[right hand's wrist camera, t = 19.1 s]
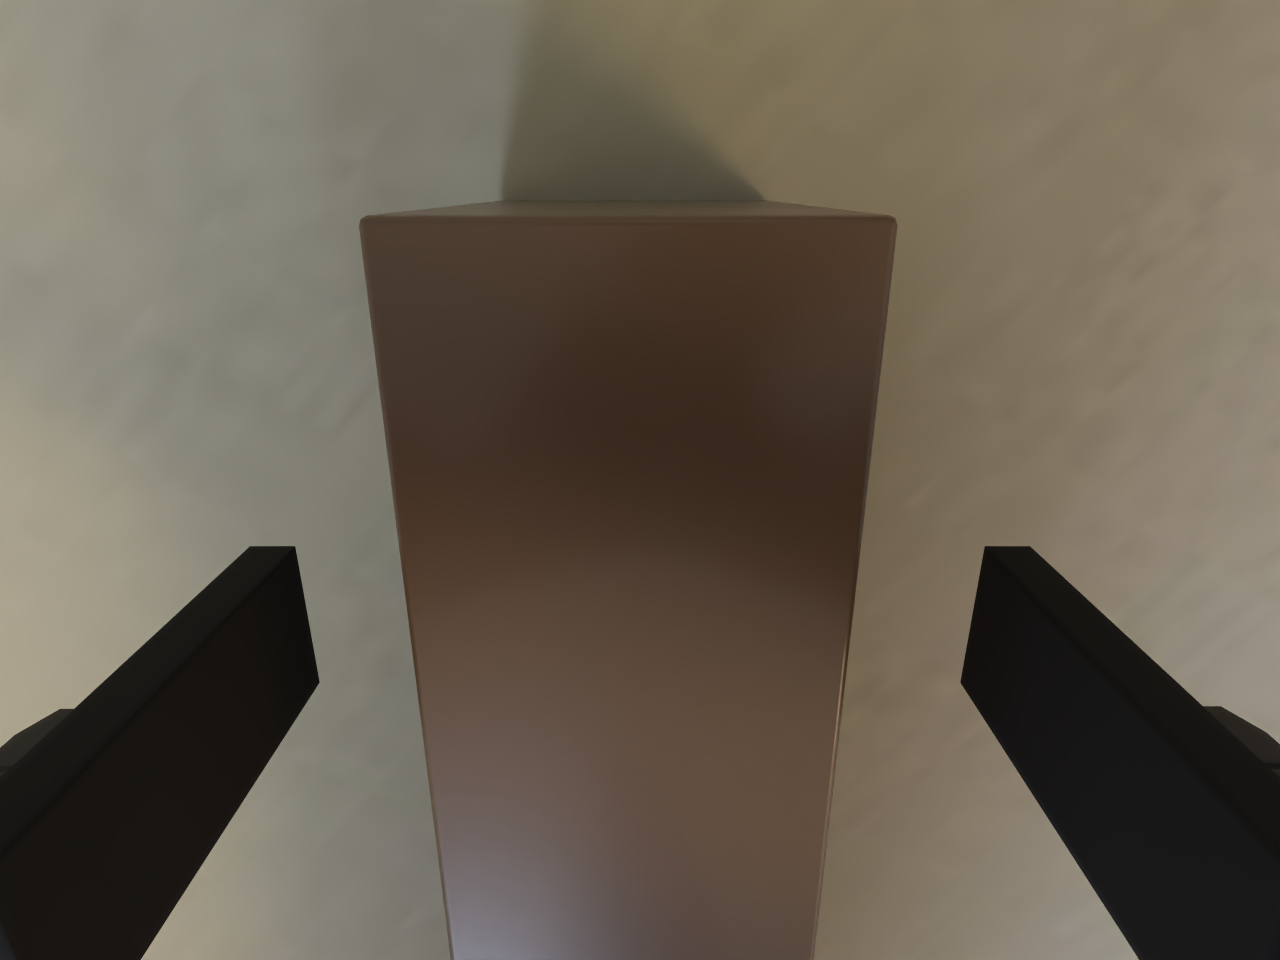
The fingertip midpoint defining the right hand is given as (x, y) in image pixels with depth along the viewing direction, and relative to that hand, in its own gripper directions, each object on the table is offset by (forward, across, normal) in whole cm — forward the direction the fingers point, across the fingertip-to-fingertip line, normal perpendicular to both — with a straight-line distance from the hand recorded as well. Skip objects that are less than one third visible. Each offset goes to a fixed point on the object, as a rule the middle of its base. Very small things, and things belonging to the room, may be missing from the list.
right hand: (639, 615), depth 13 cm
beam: (+3, 0, -20) cm, 20 cm away
